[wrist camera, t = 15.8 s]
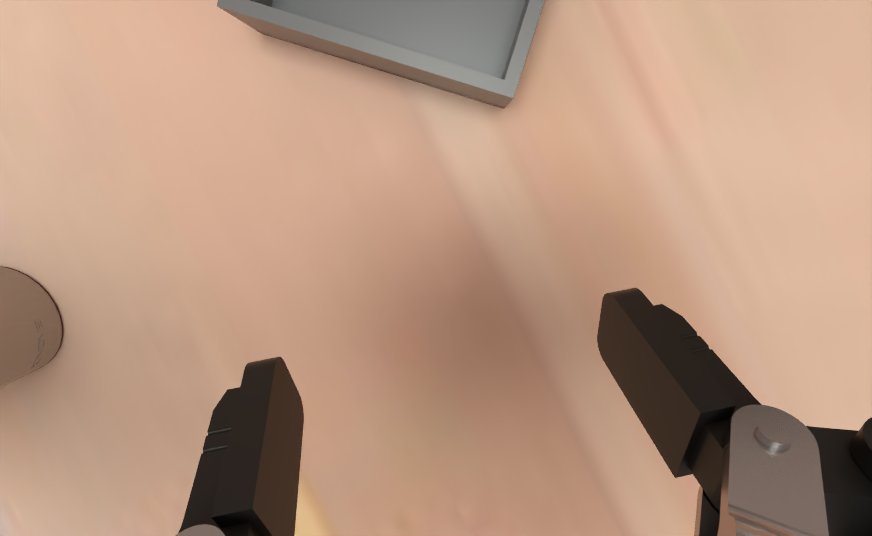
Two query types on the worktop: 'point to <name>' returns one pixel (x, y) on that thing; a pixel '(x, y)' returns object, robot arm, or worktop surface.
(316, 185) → the worktop surface
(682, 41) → the worktop surface
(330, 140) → the worktop surface
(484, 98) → the bin
